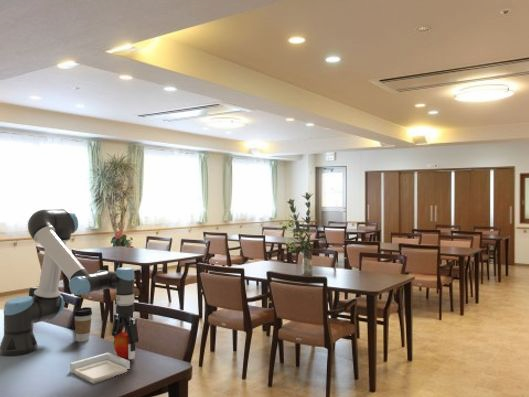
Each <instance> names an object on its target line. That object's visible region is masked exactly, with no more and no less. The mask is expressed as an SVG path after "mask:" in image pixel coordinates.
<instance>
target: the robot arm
mask: <svg viewBox="0 0 529 397" xmlns="http://www.w3.org/2000/svg"><path fill="white" fill-rule="evenodd" d="M78 227H79V220H78V217H77V215H76V213H75V212H74V211H72V210H70V209H63V208H60V209H59V208H58V209H57V208H56V209H40V210H38V211H35V212H34V213H32V215H31V216H30V217H29V219H28V222H27V231H28V233H29V236H30V237H31V239H32V240H33V241H34V242H35V243H36V244H37V243H38V244H40V245H41V247H42V248H43V249H44V252H43V258H42V264H41V271H40V275H39V276H40V277H39V283H38V288H37V289H35V290H34V291H33V296H31V295H22V296H17V297H13V298H11V299H9V300H7V301H5V303H4V305H3V306H4V307H3V336H2V340H1V342H0V355H2V356H5V357H8V356H9V357H11V356H15V357H16V356H21V355H27V354H30V353H33V352H34V351H36V350H37V349H38V341H37V339H36V335H35V333H34V324H37V323H41V322H45V321H50V320H52V319H55V318H57V317H59V316H60V315H61V314H62V313H63V311H64V308H65V300H64V297H63V296H62V295H61V294H62V293H61V291H60V290H59V285H60V279H61V274H62V273H63V274H64V275H65V277H66V278H67V279H68V280H69V282H68V288H69V291H70V293H72V294H73V295H75V296H80V295H86V294H89V293H92V292H93V293H94V292H98V291H103V290H107V289H110V290H115V294H116V295H115V296H116V297H115V302H116V305H115V313H116V314H113V323H112V330H111V336H112V337H113V338H114V339H115V336H116V335H118V334H119V333H120V332H123V331H124V329H125V332H127V335H128V338H129V342H130V343H128V359H127V360H132V359H135V357H136V344H137V343H139V334H138V326H137V322H138V320H137V318H133V315H132V314H133V313H135V304H134V303H135V270H134V268H133V267H129V266H128V267H127V266H125V267H124V266H123V267H118V268H116V271H112V270H107V269H106V270H97V271H96V272H94V273H89V272H88V271H87V269H86V268H85V267H84V265H82V264H81V262H80V261H79V260H78V259H77V257H76V256H75V255H74V253H73V252H72V251H71V249H69V248H68V246H67V242H68V241H70V240H71V236H72V234H75V232H77V230H78V229H79V228H78ZM114 355H117V354H116V352H115V351H114Z"/></svg>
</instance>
